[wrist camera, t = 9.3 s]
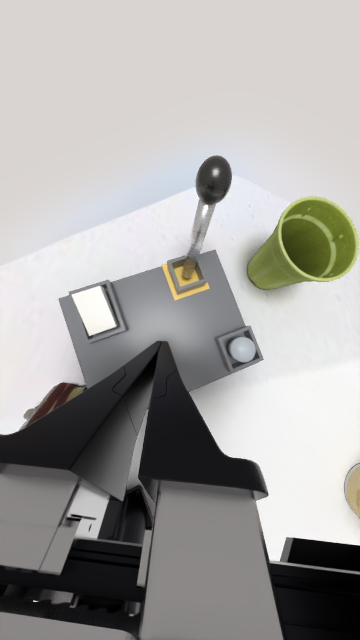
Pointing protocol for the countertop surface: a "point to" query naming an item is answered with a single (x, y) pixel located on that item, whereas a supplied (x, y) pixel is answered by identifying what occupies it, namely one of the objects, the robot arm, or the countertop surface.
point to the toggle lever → (206, 205)
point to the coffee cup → (353, 489)
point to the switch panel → (165, 322)
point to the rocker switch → (95, 310)
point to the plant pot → (306, 246)
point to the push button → (241, 349)
